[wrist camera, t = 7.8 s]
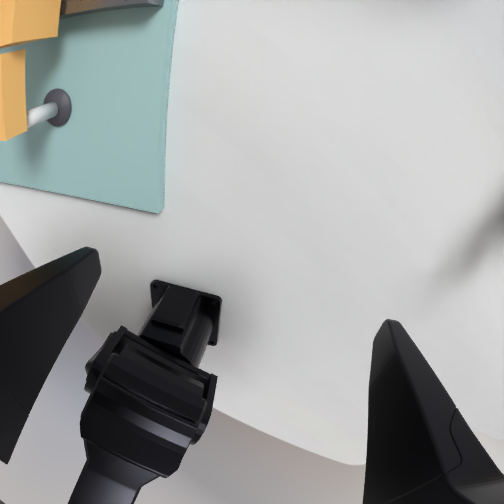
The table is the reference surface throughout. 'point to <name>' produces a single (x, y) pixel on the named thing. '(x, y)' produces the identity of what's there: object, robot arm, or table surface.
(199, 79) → the table surface
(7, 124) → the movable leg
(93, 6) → the rail
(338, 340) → the table surface
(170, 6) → the board
